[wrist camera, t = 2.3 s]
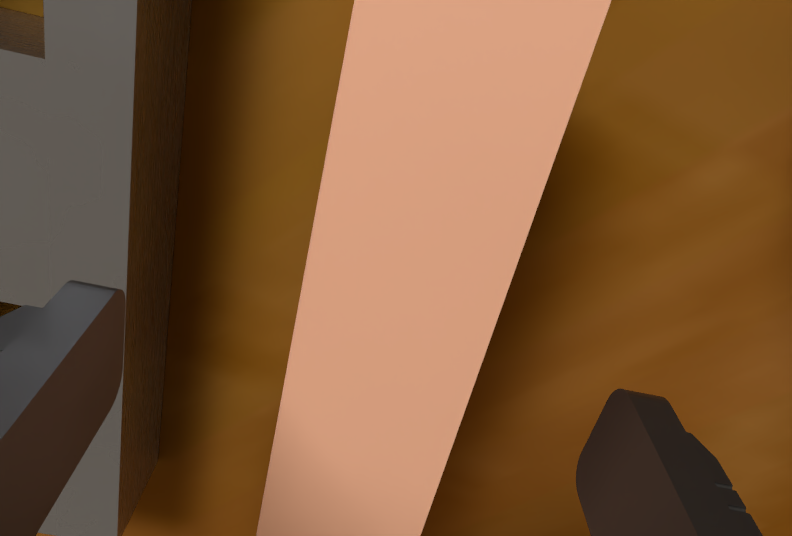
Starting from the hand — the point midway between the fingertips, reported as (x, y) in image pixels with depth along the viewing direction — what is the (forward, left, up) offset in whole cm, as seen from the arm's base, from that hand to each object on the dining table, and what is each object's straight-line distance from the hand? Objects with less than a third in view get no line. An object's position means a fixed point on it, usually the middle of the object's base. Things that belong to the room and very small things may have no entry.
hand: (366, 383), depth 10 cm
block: (0, 0, -8) cm, 8 cm away
